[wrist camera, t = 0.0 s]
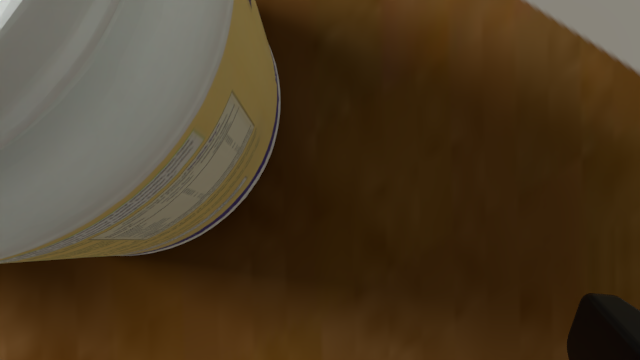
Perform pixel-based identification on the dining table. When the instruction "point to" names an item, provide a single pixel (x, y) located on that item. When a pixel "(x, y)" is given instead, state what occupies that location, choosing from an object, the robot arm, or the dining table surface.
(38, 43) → the supplement tub
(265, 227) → the dining table surface
